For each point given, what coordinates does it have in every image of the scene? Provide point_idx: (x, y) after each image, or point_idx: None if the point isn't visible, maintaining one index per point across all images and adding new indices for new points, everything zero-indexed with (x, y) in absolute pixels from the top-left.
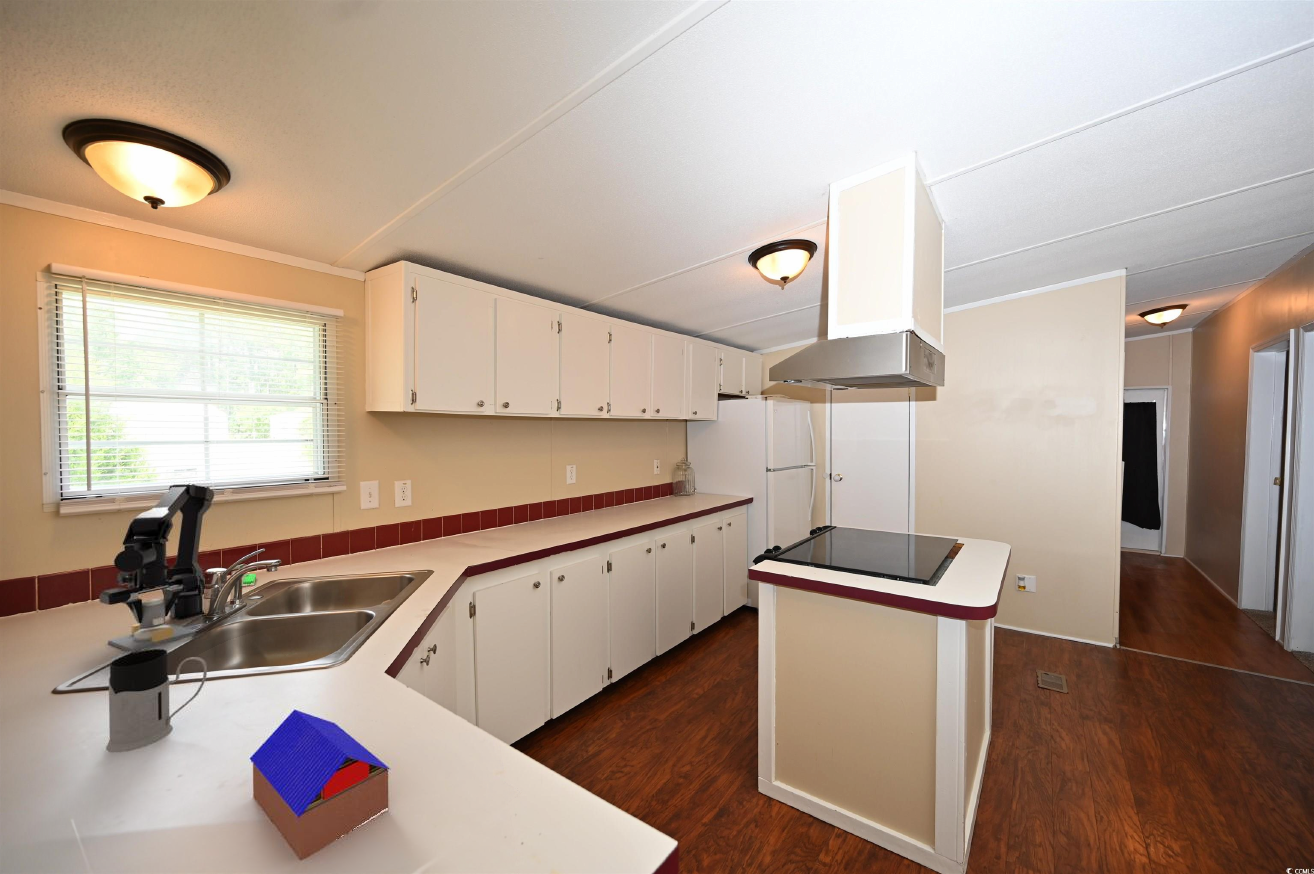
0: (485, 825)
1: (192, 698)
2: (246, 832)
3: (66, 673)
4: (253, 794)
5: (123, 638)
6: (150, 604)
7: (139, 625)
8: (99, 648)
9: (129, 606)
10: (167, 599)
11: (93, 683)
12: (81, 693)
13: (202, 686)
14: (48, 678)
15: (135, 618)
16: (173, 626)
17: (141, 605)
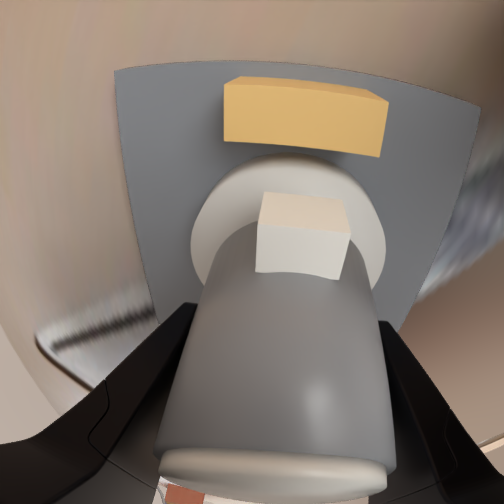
0: (213, 501)
1: (159, 492)
2: (160, 483)
3: (28, 286)
4: (168, 485)
5: (175, 117)
6: (221, 494)
7: (210, 269)
8: (87, 108)
9: (66, 436)
10: (388, 490)
11: (86, 375)
12: (77, 385)
13: (164, 501)
14: (7, 279)
15: (158, 332)
16: (442, 191)
17: (150, 493)
